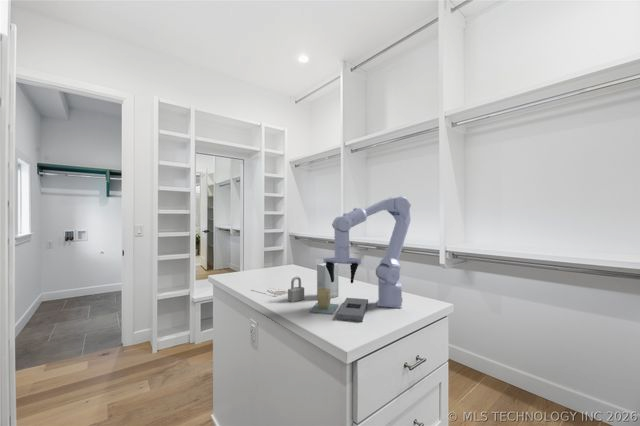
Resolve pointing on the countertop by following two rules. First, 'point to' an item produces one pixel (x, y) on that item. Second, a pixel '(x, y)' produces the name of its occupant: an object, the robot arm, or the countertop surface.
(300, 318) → the countertop surface
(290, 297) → the padlock
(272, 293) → the grooming comb
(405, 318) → the countertop surface
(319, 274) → the skincare box
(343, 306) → the grey slotted base plate
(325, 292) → the tan rectangular block
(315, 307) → the rubber mat
